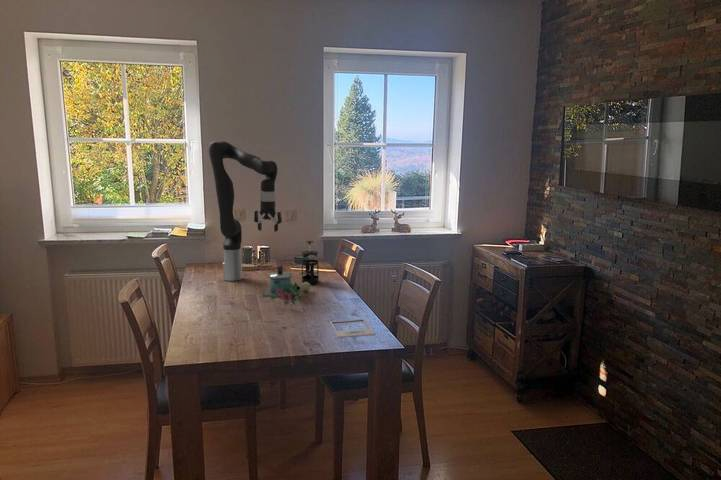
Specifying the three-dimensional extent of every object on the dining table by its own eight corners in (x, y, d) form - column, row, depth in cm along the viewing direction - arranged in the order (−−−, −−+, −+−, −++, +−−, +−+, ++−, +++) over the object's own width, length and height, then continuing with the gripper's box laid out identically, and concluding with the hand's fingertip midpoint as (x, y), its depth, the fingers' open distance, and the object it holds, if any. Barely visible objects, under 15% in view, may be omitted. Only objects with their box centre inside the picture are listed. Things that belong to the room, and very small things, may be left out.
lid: (265, 278, 268) (265, 268, 267) (273, 272, 279) (273, 263, 278) (287, 279, 266) (287, 269, 265) (294, 273, 277) (294, 264, 276)
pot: (262, 296, 268) (262, 278, 267) (272, 288, 282) (271, 272, 280) (289, 297, 266) (289, 280, 264) (298, 290, 279) (297, 273, 278)
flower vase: (311, 306, 276) (291, 312, 242) (289, 298, 279) (266, 302, 244) (319, 284, 276) (300, 287, 242) (297, 276, 278) (275, 278, 244)
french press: (321, 284, 290) (320, 242, 286) (304, 286, 287) (303, 243, 282) (315, 279, 301) (314, 238, 296) (299, 281, 297) (298, 239, 293)
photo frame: (338, 336, 212) (330, 321, 229) (338, 338, 212) (330, 323, 229) (374, 333, 215) (363, 318, 232) (374, 335, 215) (363, 321, 232)
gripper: (251, 200, 278) (252, 231, 281) (278, 201, 275) (278, 233, 278) (257, 198, 285) (257, 229, 288) (283, 199, 283) (283, 230, 286)
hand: (268, 231), depth 283 cm, fingers open, 8 cm apart
